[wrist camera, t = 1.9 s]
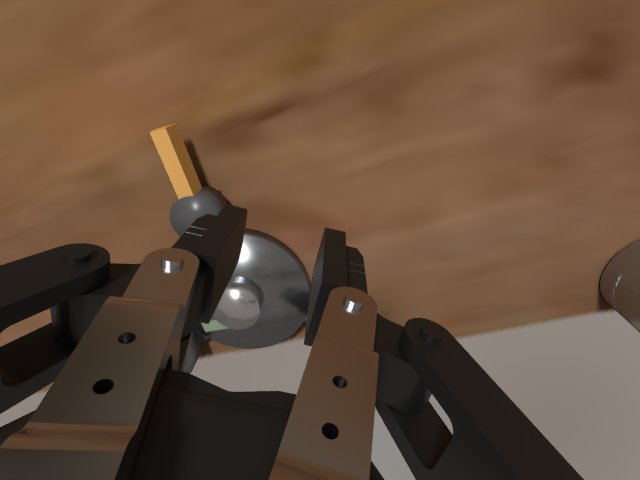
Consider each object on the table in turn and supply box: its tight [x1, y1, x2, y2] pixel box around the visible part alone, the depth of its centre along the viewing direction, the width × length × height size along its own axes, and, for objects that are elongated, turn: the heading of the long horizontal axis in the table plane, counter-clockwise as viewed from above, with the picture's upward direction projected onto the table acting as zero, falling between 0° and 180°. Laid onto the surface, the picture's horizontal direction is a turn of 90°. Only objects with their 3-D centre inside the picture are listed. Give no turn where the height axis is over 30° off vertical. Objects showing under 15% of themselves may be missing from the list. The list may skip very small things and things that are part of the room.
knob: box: [183, 332, 203, 374], centre depth 43 cm, size 10×4×3 cm, turn 134°
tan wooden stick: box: [150, 124, 227, 236], centre depth 33 cm, size 10×4×3 cm, turn 14°
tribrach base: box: [193, 190, 311, 348], centre depth 38 cm, size 21×19×4 cm
